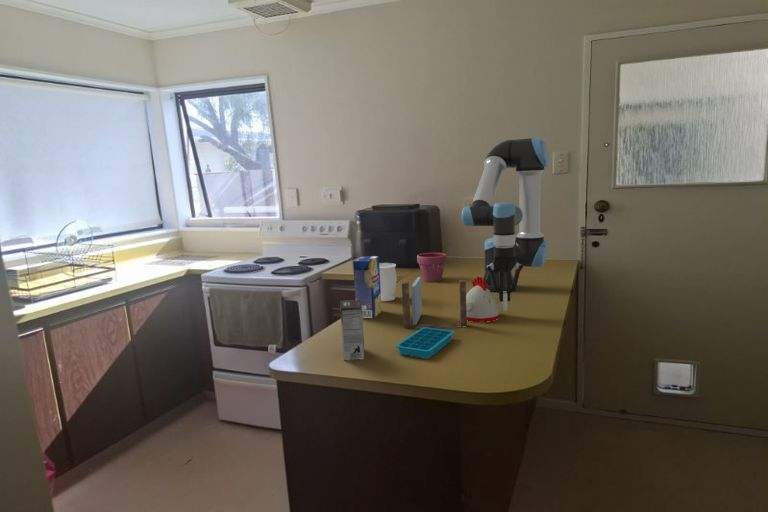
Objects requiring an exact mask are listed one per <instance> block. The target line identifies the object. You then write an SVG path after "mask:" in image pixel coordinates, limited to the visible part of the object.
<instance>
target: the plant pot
mask: <svg viewBox="0 0 768 512" xmlns="http://www.w3.org/2000/svg"><path fill="white" fill-rule="evenodd" d="M416 262H417V264H419V265H418V266H419V269H420V273H421V279H422V281H423V282H427V283H437V282H436V281H438V282H440V280H441V279H442V278H443V274H444V268H445V263H447V254H446V253H443V252H424V253H419V254H417V256H416ZM441 281H442V280H441Z"/></svg>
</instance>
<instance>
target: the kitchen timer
mask: <svg viewBox="0 0 768 512" xmlns="http://www.w3.org/2000/svg"><path fill="white" fill-rule="evenodd" d="M482 279H483V277H480V276H477V277H476V278H474V279H473V280H474V281H471V285H472V288H470V290H469V291H468V292H466V312H467V320H468V321H473V322H472V323H476V322H486V323H488V322H487V321H492V322H494V321H493V320H496V319H498V318H499V319H500V309H499V305H498V301H499V299H498V298H497V296H495V295H494V294H493V292H490V291H489V290H488V289H487V285H488V283H485V279H483V280H482ZM499 319H498V320H499ZM468 321H467V322H468ZM496 321H497V320H496Z"/></svg>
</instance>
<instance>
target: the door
mask: <svg viewBox="0 0 768 512" xmlns="http://www.w3.org/2000/svg"><path fill="white" fill-rule="evenodd" d="M410 288H411V308H412V309H411V313H412V314H411V315H412V325H418V322H419V321H420V318H421V316H422V314H423V304H422V303H423V302H422V301H423V300H422V276H418V277H416V279H415V280H414V282H413V284H412V285H411V287H410Z"/></svg>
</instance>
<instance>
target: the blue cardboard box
mask: <svg viewBox="0 0 768 512" xmlns="http://www.w3.org/2000/svg"><path fill="white" fill-rule="evenodd" d="M379 263H380V256H378V255H377V256H376V255H362V256H360V257H358V258H356V259H354V260H352V266H353V267H352V268H353V270H352V271H353V287H354V300H361V305H362V316H363V318H374V319H376V317H377V316H379V314H380V313H382V311H383V310H382V301H381V288H380V268H379Z"/></svg>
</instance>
